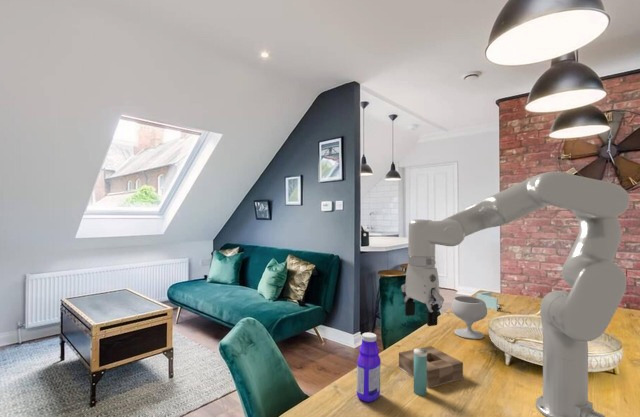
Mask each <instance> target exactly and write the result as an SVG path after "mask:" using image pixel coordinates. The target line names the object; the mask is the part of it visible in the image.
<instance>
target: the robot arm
mask: <svg viewBox="0 0 640 417" xmlns="http://www.w3.org/2000/svg"><path fill="white" fill-rule="evenodd" d="M630 198H631V197H630V196H629V193H628V192H627V190H625V188H623V187H622V186H621V185H618V184H617V183H613V182H610V181H605V180H600V179H596V178H595V179H594V178H590V177H586V176H580V175H575V174H572V173H567V172H561V171H547V172H543V173H540V174H537V175H534V176H531V177H529V178H528V179H526V180H525V179H524V180H522V181H521V182H519V183H517V184H515V185H511V186H510V187H509V188H506V189H503V190H501V191H499V192H497V193H495V194H493V195H490V196H489V197H486V198H485V199H483V200H481V201H479V202H477V203H475V204H474V205H471V206H469V207H467V208H465V209H464V210H461V211H458V212H457V213H455V214H453V215H450V216H448V217H446V218H444V219H442V220H431V219H412V220H409V223H408V249H407V250H408V251H407V254H408V256H407V261H408V262H407V269H406V273H405V274H406V276H405V283H404V284H402V285H401V286H400V288H401V292H402V296H403V301H404V307H405V308H404V310H405V311H404V313H405V314H404V315H405V316H406V317H409V316H415V315H416V314H415V313H416V302H415V301H417V302H420V303H422V304H425V305H426V307H427V309H428V311H427V312H426V325H427V326H428V327H434V326H435V327H436V326H437V325H438V316H439V314H438V313H439V312H440V310H441V308H442V307H443V304H444V301H445V298H444V297H443V296H442V295H441V294H440V281H439V280H440V279H439V274H438V270H437V267H436V245H438V246H444V247H456V246H458V245H461V243H462V242H463V241H464V240H465V237H468V236H470V235H472V234H474V233H477V232H479V231H483V230H487V229H490V228H495V227H501V226H504V225H506V224H507V225H508V224H509V223H512V222H514V221H516V220H518V219H520V218H523V217H525V216H527V215H530V214H532V213H534V212H536V211H539V210H540V209H543V208H546V207H548V206H553V207H557V208H561V209H564V210H568V211H570V212H571V213H573V215H574V216H575V217H576V219H577V222H578V232H577V233H578V234H577V236H576V238H575V241H574V243H573V246H572V247H571V250H570V252H569V254H568V256H567V258H566V260H565V261H564V263H563V266H562V268H561V277H562V280H563V281H564V283H566V285H568V286H569V287H571V289H570V291H566V290H560V289H559V290H553V291H552V290H551V291H550V292H548V293H547V294H545V295H544V296H543V298H542V300H541V302H540V309H539V311H540V318H541V327H542V395H541V396H538V397H536V399H535V407H536V408H537V410H538V411H539V412H540V413H542V414H543V415H544V416H545V417H606V415H604V414H603V413H601V412H597V411H595V409H594V405H593V404H594V403H593V402H591V401H589V345H588V343H589V342H592V341H595V340H596V339H598V338H600V337H601V336H603V334H604V333H605V332H606V330H607V329H608V327H609V326H610V324H611V321H612V319H613V318H614V316H615V313H616V312H617V309H618V308H619V306H620V303H621V302H622V299H623V297H624V295H625V294H626V293H625V292H626V290H627V278H626V275H625V271H623V268H621V267H620V266H619V264H617V263H615V262H613V261H614V258H616V255H617V252H618V250H619V247H620V244H621V240H622V227H621V223H620V221H619V218H618V217H620V216H621V215H622V214H624V213H625V212H626V211H627V209H628V208H629V206H630V202H631V200H630Z"/></svg>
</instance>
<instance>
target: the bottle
mask: <svg viewBox="0 0 640 417" xmlns="http://www.w3.org/2000/svg"><path fill="white" fill-rule="evenodd" d="M377 340H378V338H377V334H375V333H373V332H364V333H362V334H361V344H360V347H359V349H358V351H359V355H358V358H357V361H356V397H357V398H358V399H360V400H361V401H363V402H367V403H371V402H373V401H375V400H377V399H378V398H379V396H380V394H381V365H382V364H381V363H382V361H381V357H380V355H379V353H380V349H379V347H378V343H377Z"/></svg>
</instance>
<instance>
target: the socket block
mask: <svg viewBox="0 0 640 417" xmlns="http://www.w3.org/2000/svg"><path fill="white" fill-rule="evenodd" d="M420 348H421V349H425V350H426V351H427V389H431V388H435V387H438V386H441V385H445V384H449V383H453V382H457V381H460V380H464V379H465V378H464V361H461V360H459V359H457V358H455V357H453V356H451V355H449V354H447V353H445V352H444V351H442V350H440V349H438V348H435V347H434V346H432V345H429V346H424V347H420ZM397 368H398V369H399V370H402V371H403V372H404V373H405V374H406V375H408V376H410V377H411V378H413V379H414V349H411V350H406V351H405V350H404V351H401V352H398V366H397Z"/></svg>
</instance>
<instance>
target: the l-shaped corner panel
mask: <svg viewBox="0 0 640 417" xmlns="http://www.w3.org/2000/svg"><path fill="white" fill-rule="evenodd" d="M475 298H479V299H482V300H483V301H484V302H485V304H486V307H487V308H491V309H495V310H498V311H499V309H498V307H499V308H501V306H500V304H499V303H498V298H497V297H494V296H492V291H490V290H489V291H484V292H479V293H478V292H477V293H476V296H475Z"/></svg>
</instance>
